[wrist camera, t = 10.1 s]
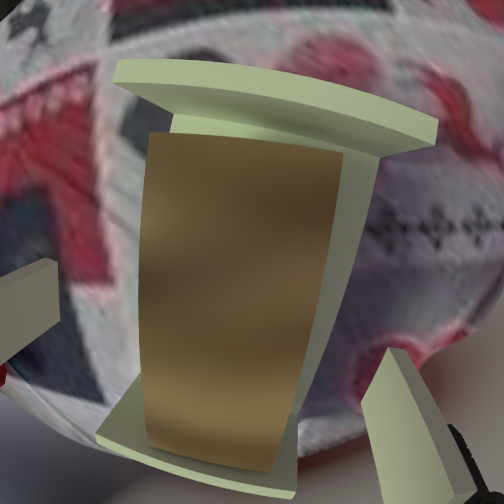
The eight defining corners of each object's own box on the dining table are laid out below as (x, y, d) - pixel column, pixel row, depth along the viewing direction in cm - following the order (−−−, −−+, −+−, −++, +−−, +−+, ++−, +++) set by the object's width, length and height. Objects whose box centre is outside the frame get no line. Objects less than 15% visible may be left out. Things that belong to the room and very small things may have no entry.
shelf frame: (183, 93, 17) (122, 48, 9) (382, 134, 16) (440, 107, 8) (142, 383, 22) (97, 447, 14) (291, 423, 21) (288, 502, 13)
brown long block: (275, 426, 17) (270, 472, 14) (170, 404, 18) (148, 445, 14) (328, 160, 14) (343, 152, 10) (184, 143, 14) (150, 132, 10)
